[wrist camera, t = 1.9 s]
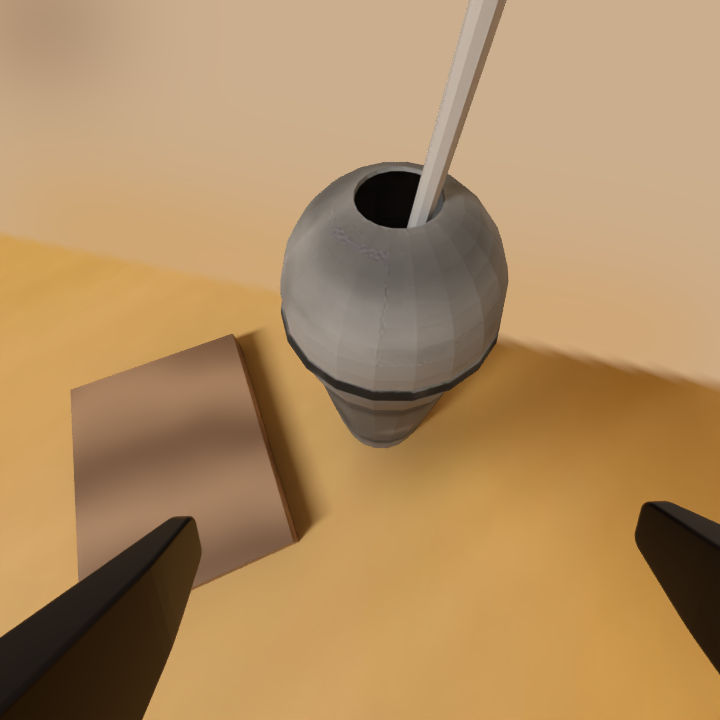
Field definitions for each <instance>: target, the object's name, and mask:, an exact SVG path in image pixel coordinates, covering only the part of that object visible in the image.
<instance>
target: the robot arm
mask: <svg viewBox="0 0 720 720" xmlns="http://www.w3.org/2000/svg"><path fill="white" fill-rule="evenodd" d="M635 541H636V544H637V547H638V549H639V550H640V552H641V554H642V555H643V557H644V559H645V560H646V562H647V563H648V565H649V567H650V568H651V570H652V572H653V573H654V575H655V577H656V578H657V580H658V582H659V583H660V585H661V586H662V588H663V590H664V591H665V593H666V595H667V596H668V598H669V600H670V601H671V603H672V605H673V606H674V608H675V609H676V611H677V613H678V614H679V616H680V618H681V619H682V621H683V622H684V624H685V625H686V627H687V629H688V630H689V632H690V633H691V635H692V636H693V637H694V639H695V640H696V642H697V643H698V645H699V646H700V648H701V649H702V650H703V652H704V653H705V655H706V656H707V657H708V659H709V660H710V662H711V663H712V664H713V666H714V667H715V669H716V670H717V671H718V673H719V674H720V524H718V523H716V522H714V521H711V520H709V519H707V518H705V517H702V516H700V515H698V514H696V513H694V512H691V511H689V510H687V509H685V508H682V507H680V506H678V505H676V504H673V503H671V502H667V501H652V502H646V503H644V504H643V505H642V507H641V511H640V515H639V519H638V523H637V527H636V531H635ZM201 555H202V547H201V542H200V538H199V533H198V528H197V524H196V521H195V519H194V518H193V517H192V516H175V517H171V518H170V519H168V520H166V521H165V522H164V523H162V524H161V525H159V526H158V527H157V528H155V529H154V530H152V531H151V532H149V533H148V534H147V535H145V536H144V537H142V538H141V539H140V540H138V541H137V542H135V543H134V544H132V545H131V546H130V547H128V548H127V549H125V550H124V551H122V552H121V553H120V554H118V555H117V556H115V557H114V558H113V559H111V560H110V561H108V562H107V563H105V564H104V565H103V566H101V567H100V568H98V569H97V570H95V571H94V572H93V573H91V574H90V575H88V576H87V577H86V578H84V579H83V580H81V581H80V582H78V583H77V584H76V585H74V586H73V587H71V588H70V589H69V590H67V591H66V592H64V593H63V594H61V595H60V596H59V597H57V598H56V599H54V600H53V601H51V602H50V603H49V604H47V605H46V606H44V607H43V608H42V609H40V610H39V611H37V612H36V613H34V614H33V615H32V616H30V617H29V618H27V619H26V620H24V621H23V622H22V623H20V624H19V625H17V626H16V627H14V628H13V629H12V630H10V631H9V632H7V633H6V634H5V635H3V636H2V637H0V720H142V719H143V717H144V714H145V712H146V710H147V707H148V705H149V702H150V700H151V698H152V695H153V693H154V690H155V688H156V686H157V683H158V681H159V679H160V676H161V674H162V671H163V669H164V667H165V664H166V662H167V659H168V657H169V654H170V652H171V649H172V647H173V644H174V641H175V638H176V635H177V633H178V630H179V626H180V623H181V620H182V617H183V614H184V611H185V608H186V604H187V601H188V598H189V595H190V592H191V589H192V586H193V583H194V579H195V576H196V573H197V570H198V567H199V564H200V560H201Z"/></svg>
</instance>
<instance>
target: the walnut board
mask: <svg viewBox="0 0 720 720" xmlns="http://www.w3.org/2000/svg"><path fill="white" fill-rule="evenodd" d="M71 411H72V435H73V458H74V482H75V506H76V530H77V554H78V578H79V582H80V581H81V580H83V579H84V578H86V577H87V576H88V575H90V574H91V573H93V572H94V571H95V570H97V569H98V568H100V567H101V566H103V565H104V564H105V563H107V562H108V561H110V560H111V559H113V558H114V557H115V556H117V555H118V554H120V553H121V552H122V551H124V550H125V549H127V548H128V547H130V546H131V545H132V544H134V543H135V542H137V541H138V540H140V539H141V538H142V537H144V536H145V535H147V534H148V533H149V532H151V531H152V530H154V529H155V528H157V527H158V526H159V525H161V524H162V523H164V522H165V521H166V520H168V519H170V518H171V517H175V516H192V517H193V518H194V519H195V521H196V524H197V528H198V533H199V538H200V542H201V547H202V555H201V560H200V564H199V567H198V570H197V573H196V576H195V579H194V583H193V586H192V589H191V590H193V589H195V588H198V587H200V586H202V585H204V584H206V583H209V582H211V581H213V580H215V579H218V578H220V577H222V576H224V575H226V574H229V573H231V572H233V571H235V570H237V569H240V568H242V567H244V566H246V565H249V564H251V563H253V562H255V561H257V560H260V559H262V558H264V557H266V556H268V555H271V554H273V553H275V552H277V551H280V550H282V549H284V548H286V547H288V546H291V545H293V544H295V543H297V542H299V541H298V538H297V535H296V531H295V528H294V524H293V521H292V518H291V514H290V511H289V508H288V504H287V501H286V498H285V494H284V491H283V488H282V484H281V481H280V478H279V474H278V471H277V467H276V464H275V461H274V457H273V454H272V451H271V447H270V444H269V441H268V437H267V434H266V431H265V427H264V424H263V421H262V417H261V414H260V410H259V407H258V404H257V400H256V397H255V394H254V390H253V387H252V384H251V380H250V377H249V374H248V370H247V367H246V364H245V360H244V357H243V353H242V350H241V347H240V344H239V343H238V341H237V340H236V338H235V337H234V335H233V334H230V335H227V336H225V337H222V338H219V339H216V340H213V341H210V342H207V343H204V344H201V345H199V346H196V347H193V348H190V349H187V350H184V351H181V352H178V353H176V354H173V355H170V356H167V357H164V358H161V359H158V360H155V361H152V362H150V363H147V364H144V365H141V366H138V367H135V368H132V369H129V370H127V371H124V372H121V373H118V374H115V375H112V376H109V377H106V378H103V379H101V380H98V381H95V382H92V383H89V384H86V385H83V386H80V387H78V388H75V389H72V390H71Z"/></svg>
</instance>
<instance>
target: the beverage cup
mask: <svg viewBox="0 0 720 720" xmlns="http://www.w3.org/2000/svg"><path fill="white" fill-rule="evenodd" d="M505 3H506V0H469V2H468V6H467V9H466V13H465V17H464V21H463V24H462V28H461V32H460V35H459V39H458V42H457V46H456V50H455V54H454V57H453V61H452V65H451V69H450V72H449V75H448V79H447V83H446V86H445V90H444V94H443V97H442V101H441V105H440V108H439V112H438V116H437V119H436V124H435V127H434V131H433V134H432V138H431V141H430V145H429V149H428V153H427V156H426V160H425V164H424V165H419V164H414V163H409V162H383V163H378V164H374V165H369V166H365V167H361V168H358V169H356V170H354V171H352V172H350V173H348V174H346V175H344V176H342V177H340V178H338V179H337V180H335V181H334V182H332V183H331V184H330V185H329V186H328V187H327V188H325V189H324V190H323V191H322V192H321V193H319V194H318V195H317V196H316V197H315V198H314V199H313V200H312V201H311V203H310V204H309V205H308V206H307V207H306V209H305V211H304V212H303V214H302V216H301V217H300V219H299V221H298V222H297V224H296V226H295V227H294V229H293V231H292V233H291V235H290V237H289V239H288V242H287V246H286V250H285V255H284V262H283V269H282V275H281V298H282V305H281V315H282V319H283V323H284V328H285V332H286V336H287V340H288V343H289V344H290V345H291V347H292V348H293V350H294V351H295V353H296V354H297V355H298V357H299V358H300V360H301V361H302V363H303V364H304V365H305V367H306V368H307V369H308V370H310V371H311V372H312V373H314V375H315V376H316V377H317V378H318V379H319V380H320V381H321V382H322V383H323V384H324V386H325V388H326V390H327V392H328V394H329V396H330V397H331V399H332V401H333V403H334V405H335V407H336V409H337V411H338V412H339V414H340V416H341V418H342V420H343V422H344V423H345V425H346V426H347V427H348V429H349V430H350V432H351V433H352V434H353V436H354V437H355V438H357V439H358V440H359V441H361V442H362V443H363V444H366V445H369V446H372V447H375V448H388V447H391V446H394V445H398V444H399V443H401V442H402V441H404V440H405V439H406V438H408V436H409V435H410V434H412V433H413V432H414V431H415V429H416V428H417V427H418V426H419V424H420V423H421V422H422V421H423V419H424V418H425V417H426V415H427V414H428V413H429V412H430V410H431V409H432V408H433V407H434V405H435V404H436V403H437V401H438V400H439V399H440V398H441V396H442V395H443V394H444V393H445V392H446V391H448V390H450V389H452V388H453V387H455V386H456V385H457V384H459V383H460V382H462V381H463V380H464V379H466V378H467V377H469V376H470V375H471V374H473V373H474V372H476V371H477V370H478V369H479V368H480V366H481V365H482V363H483V362H484V360H485V359H486V357H487V356H488V354H489V353H490V352H491V350H492V349H493V347H494V346H495V344H496V342H497V337H498V332H499V327H500V322H501V317H502V312H503V307H504V302H505V297H506V291H507V286H508V269H507V263H506V258H505V254H504V249H503V244H502V240H501V237H500V234H499V231H498V228H497V226H496V224H495V223H494V221H493V220H492V219H491V217H490V215H489V214H488V212H487V211H486V209H485V208H484V206H483V205H482V203H481V202H480V200H479V199H478V197H477V196H476V195H474V194H473V193H472V192H471V191H469V190H468V189H467V188H466V187H465V186H463V185H462V184H461V183H459V182H458V181H457V180H456V179H454V178H453V177H452V176H451V175H448V174H447V173H448V170H449V167H450V164H451V161H452V158H453V155H454V152H455V149H456V147H457V144H458V141H459V138H460V135H461V132H462V129H463V126H464V123H465V120H466V117H467V114H468V111H469V108H470V106H471V103H472V100H473V97H474V94H475V91H476V88H477V85H478V82H479V79H480V76H481V74H482V71H483V68H484V65H485V62H486V59H487V56H488V53H489V50H490V47H491V44H492V41H493V38H494V35H495V32H496V30H497V27H498V24H499V21H500V18H501V15H502V12H503V9H504V6H505Z"/></svg>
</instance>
